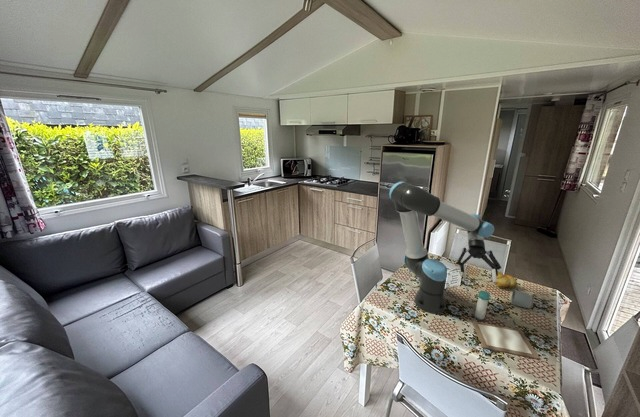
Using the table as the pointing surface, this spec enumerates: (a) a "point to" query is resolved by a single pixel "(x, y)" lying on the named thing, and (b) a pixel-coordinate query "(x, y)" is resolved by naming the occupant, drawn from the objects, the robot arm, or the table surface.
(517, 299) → the ceramic mug
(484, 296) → the marker
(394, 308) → the table surface
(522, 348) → the writing pad
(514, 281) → the bread roll
